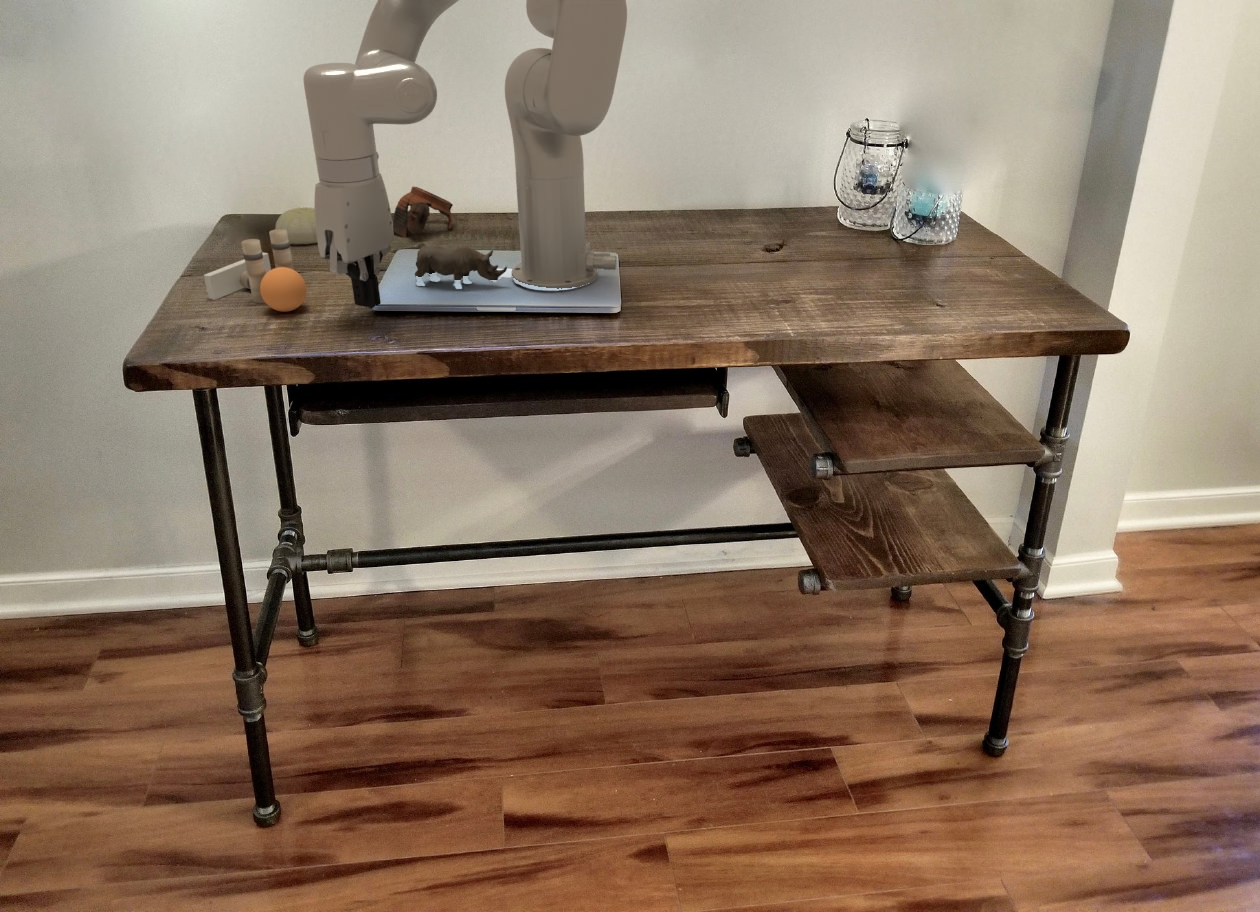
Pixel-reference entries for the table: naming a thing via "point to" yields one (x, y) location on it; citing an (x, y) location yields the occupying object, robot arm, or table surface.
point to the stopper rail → (228, 278)
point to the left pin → (254, 267)
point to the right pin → (281, 248)
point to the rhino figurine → (455, 262)
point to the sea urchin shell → (299, 225)
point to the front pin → (245, 280)
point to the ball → (283, 289)
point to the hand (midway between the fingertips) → (368, 304)
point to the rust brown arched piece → (418, 211)
